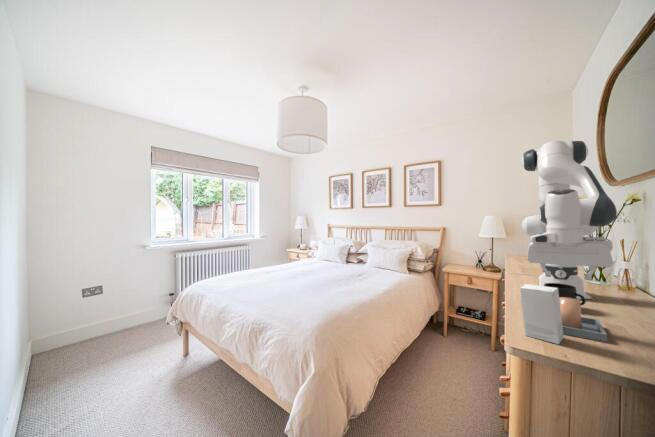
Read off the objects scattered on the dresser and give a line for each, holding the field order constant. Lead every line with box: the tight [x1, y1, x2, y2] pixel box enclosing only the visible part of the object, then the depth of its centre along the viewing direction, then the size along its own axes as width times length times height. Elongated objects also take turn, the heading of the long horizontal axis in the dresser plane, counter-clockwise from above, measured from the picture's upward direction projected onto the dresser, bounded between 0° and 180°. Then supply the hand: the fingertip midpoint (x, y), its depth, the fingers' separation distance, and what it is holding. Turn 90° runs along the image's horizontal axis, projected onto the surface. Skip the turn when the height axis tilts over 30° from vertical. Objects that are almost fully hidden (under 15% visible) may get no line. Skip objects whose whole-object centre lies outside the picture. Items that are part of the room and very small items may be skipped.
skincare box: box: [519, 283, 564, 345], centre depth 74 cm, size 8×7×16 cm
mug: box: [544, 283, 587, 306], centre depth 96 cm, size 9×12×9 cm
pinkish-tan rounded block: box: [559, 297, 582, 329], centre depth 79 cm, size 5×5×9 cm
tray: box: [562, 316, 609, 344], centre depth 79 cm, size 14×14×2 cm
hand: (567, 277), depth 79 cm, fingers open, 8 cm apart
